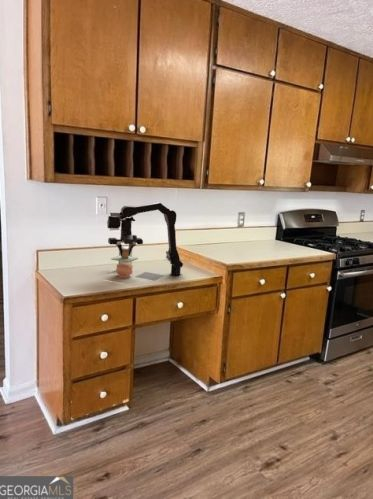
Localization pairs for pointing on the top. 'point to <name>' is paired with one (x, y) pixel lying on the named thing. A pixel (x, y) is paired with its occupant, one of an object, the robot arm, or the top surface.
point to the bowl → (124, 270)
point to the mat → (150, 276)
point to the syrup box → (130, 255)
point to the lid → (124, 256)
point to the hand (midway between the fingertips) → (125, 255)
